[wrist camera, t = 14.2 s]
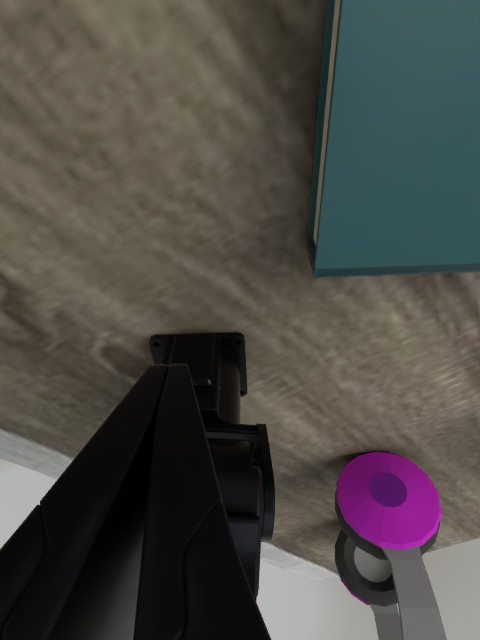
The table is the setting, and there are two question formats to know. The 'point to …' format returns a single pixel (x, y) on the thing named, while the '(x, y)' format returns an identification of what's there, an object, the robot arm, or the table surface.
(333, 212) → the book
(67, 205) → the table surface
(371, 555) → the headphones
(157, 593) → the robot arm
